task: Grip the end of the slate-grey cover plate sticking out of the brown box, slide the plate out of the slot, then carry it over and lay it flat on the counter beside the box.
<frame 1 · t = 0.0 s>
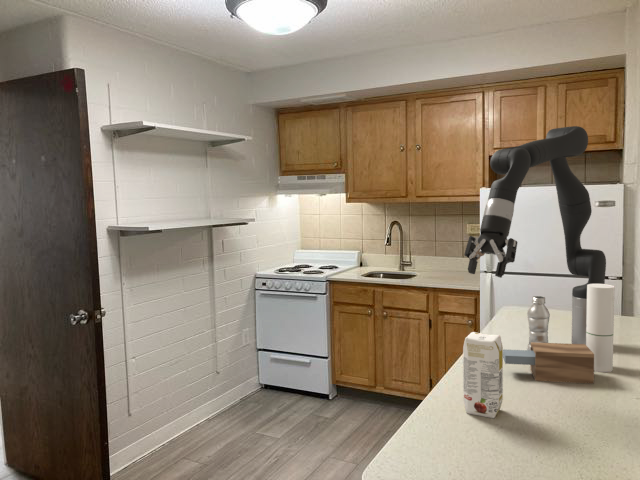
hand: (484, 275, 139), 31 cm above the countertop, tool tilted 20°, fingers open, 8 cm apart
cover plate: (540, 361, 150), point 4 cm above the countertop, touching brown box
brown box: (560, 376, 149), on the countertop
plastic bottle: (538, 359, 165), on the countertop
juice carton: (482, 412, 128), on the countertop
cylindrical container: (598, 368, 155), on the countertop
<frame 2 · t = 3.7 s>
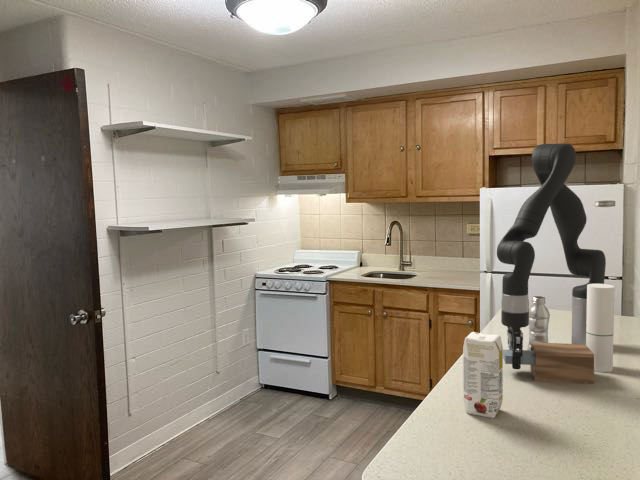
hand: (514, 364, 152), 3 cm above the countertop, tool pointing down, fingers closed on cover plate, 6 cm apart
cover plate: (540, 361, 150), point 4 cm above the countertop, touching gripper, brown box
everything else where it was.
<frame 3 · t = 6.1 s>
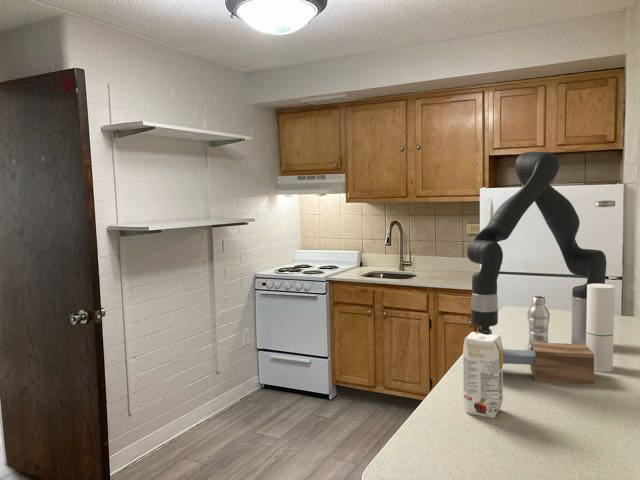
hand: (484, 363, 154), 3 cm above the countertop, tool pointing down, fingers closed on cover plate, 6 cm apart
cover plate: (509, 360, 152), point 4 cm above the countertop, touching gripper
everything else where it was.
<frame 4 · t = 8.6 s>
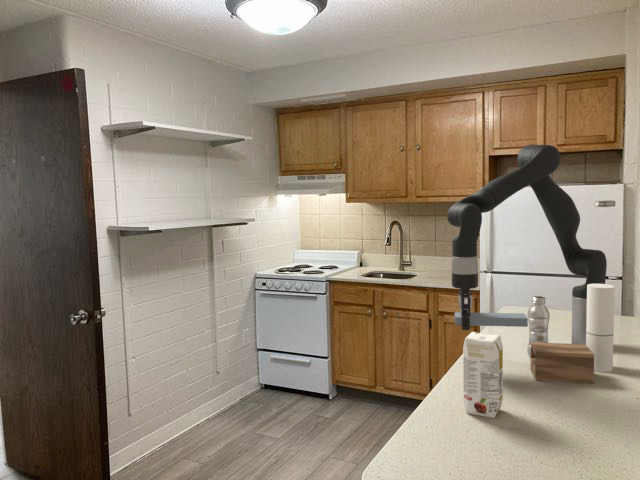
hand: (465, 326, 154), 14 cm above the countertop, tool pointing down, fingers closed on cover plate, 6 cm apart
cover plate: (489, 323, 153), point 15 cm above the countertop, touching gripper
everything else where it was.
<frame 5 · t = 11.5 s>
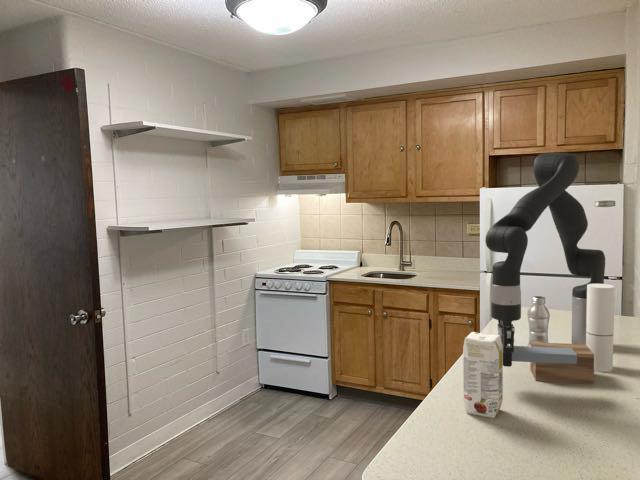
hand: (505, 361, 140), 8 cm above the countertop, tool pointing down, fingers closed on cover plate, 6 cm apart
cover plate: (533, 358, 138), point 9 cm above the countertop, touching gripper
everything else where it was.
when the fingers open (1 cm above the countertop, at t = 13.7 s): cover plate drops 3 cm, on the countertop.
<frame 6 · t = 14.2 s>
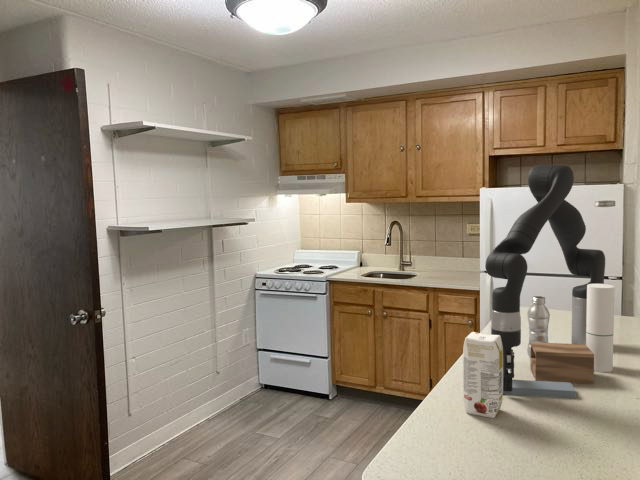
hand: (505, 385, 141), 1 cm above the countertop, tool pointing down, fingers open, 8 cm apart
cover plate: (532, 393, 139), on the countertop
everything else where it was.
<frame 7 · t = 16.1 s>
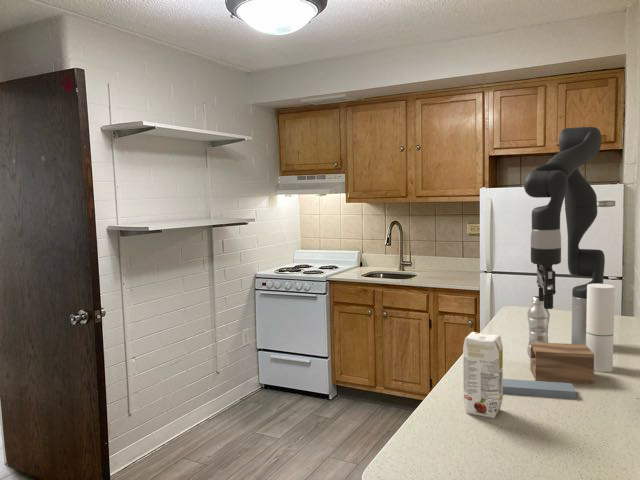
hand: (545, 304, 141), 23 cm above the countertop, tool pointing down, fingers open, 8 cm apart
nothing on the countertop moved.
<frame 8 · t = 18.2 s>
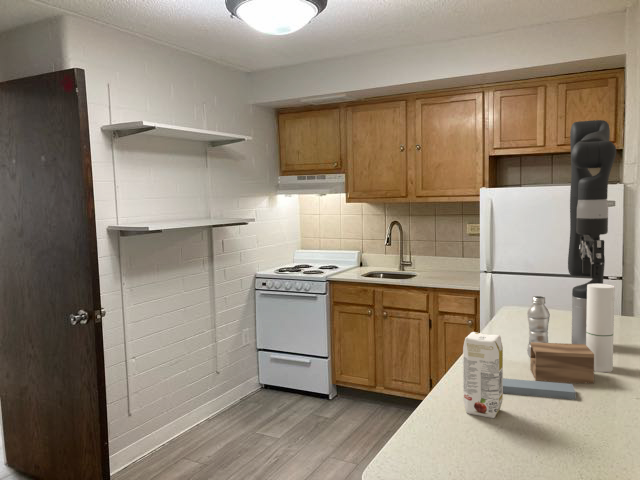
hand: (591, 275, 141), 30 cm above the countertop, tool pointing down, fingers open, 8 cm apart
nothing on the countertop moved.
at the end: cover plate inside the target area (0.1 cm from its centre), on the countertop; cover plate tilted 0°; the gripper is holding nothing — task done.
